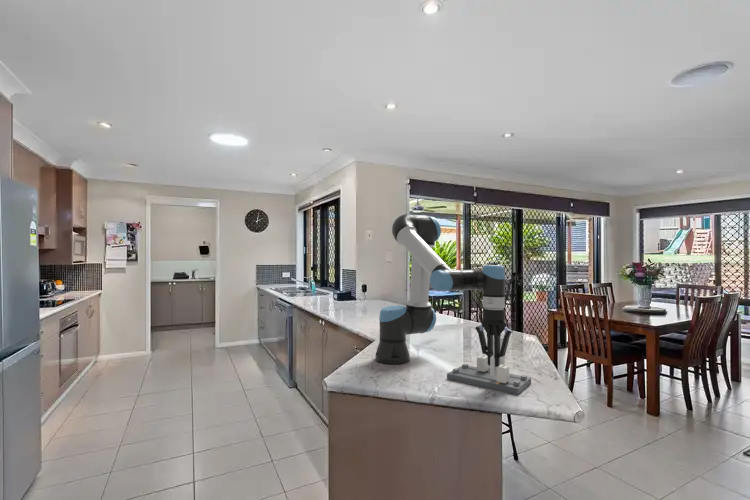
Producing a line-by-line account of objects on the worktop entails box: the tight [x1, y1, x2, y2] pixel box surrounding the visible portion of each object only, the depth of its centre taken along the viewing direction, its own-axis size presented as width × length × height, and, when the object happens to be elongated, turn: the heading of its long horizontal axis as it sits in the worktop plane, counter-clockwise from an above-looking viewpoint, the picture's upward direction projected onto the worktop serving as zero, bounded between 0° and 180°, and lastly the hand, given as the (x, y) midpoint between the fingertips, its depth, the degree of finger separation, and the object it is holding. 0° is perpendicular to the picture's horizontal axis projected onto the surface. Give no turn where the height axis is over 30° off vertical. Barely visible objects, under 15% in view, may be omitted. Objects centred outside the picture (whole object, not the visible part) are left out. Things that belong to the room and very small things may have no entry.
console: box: [446, 363, 532, 396], centre depth 138 cm, size 26×15×3 cm, turn 52°
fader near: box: [497, 365, 510, 383], centre depth 131 cm, size 3×4×5 cm
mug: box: [488, 337, 506, 370], centre depth 156 cm, size 10×7×12 cm, turn 162°
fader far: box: [476, 355, 489, 372], centre depth 144 cm, size 3×4×5 cm
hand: (493, 375), depth 133 cm, fingers closed
